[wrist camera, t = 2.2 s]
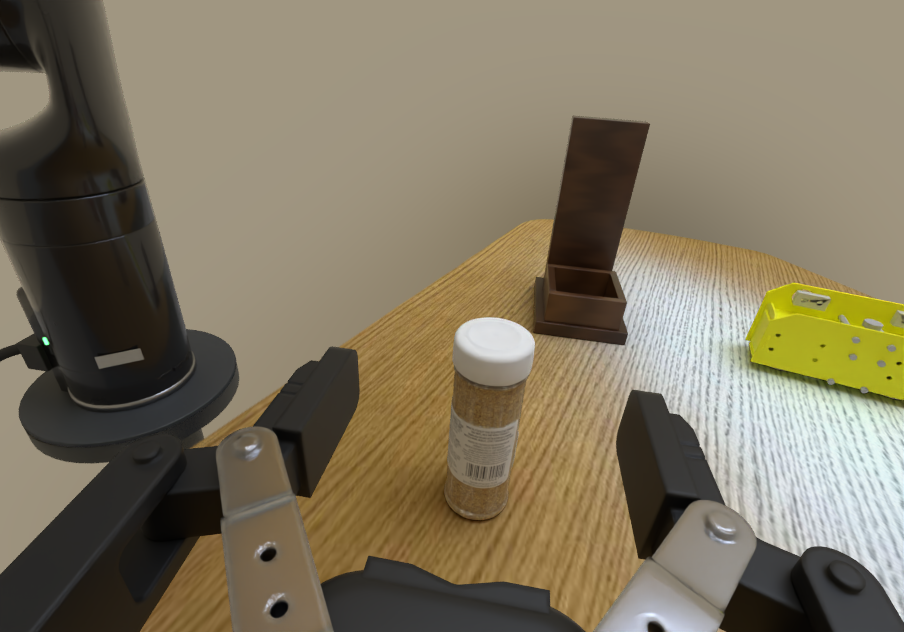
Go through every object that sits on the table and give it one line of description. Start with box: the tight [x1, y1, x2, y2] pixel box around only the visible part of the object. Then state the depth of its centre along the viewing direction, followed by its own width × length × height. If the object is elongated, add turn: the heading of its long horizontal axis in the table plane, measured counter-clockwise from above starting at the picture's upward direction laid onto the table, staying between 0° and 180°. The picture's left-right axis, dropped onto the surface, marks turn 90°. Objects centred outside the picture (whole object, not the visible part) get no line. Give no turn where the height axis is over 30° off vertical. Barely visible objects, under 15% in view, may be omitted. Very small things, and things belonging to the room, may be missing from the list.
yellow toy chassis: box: [746, 283, 904, 400], centre depth 46 cm, size 16×6×8 cm, turn 66°
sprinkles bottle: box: [444, 317, 535, 520], centre depth 29 cm, size 5×5×13 cm
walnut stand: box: [534, 116, 650, 345], centre depth 51 cm, size 10×12×22 cm
